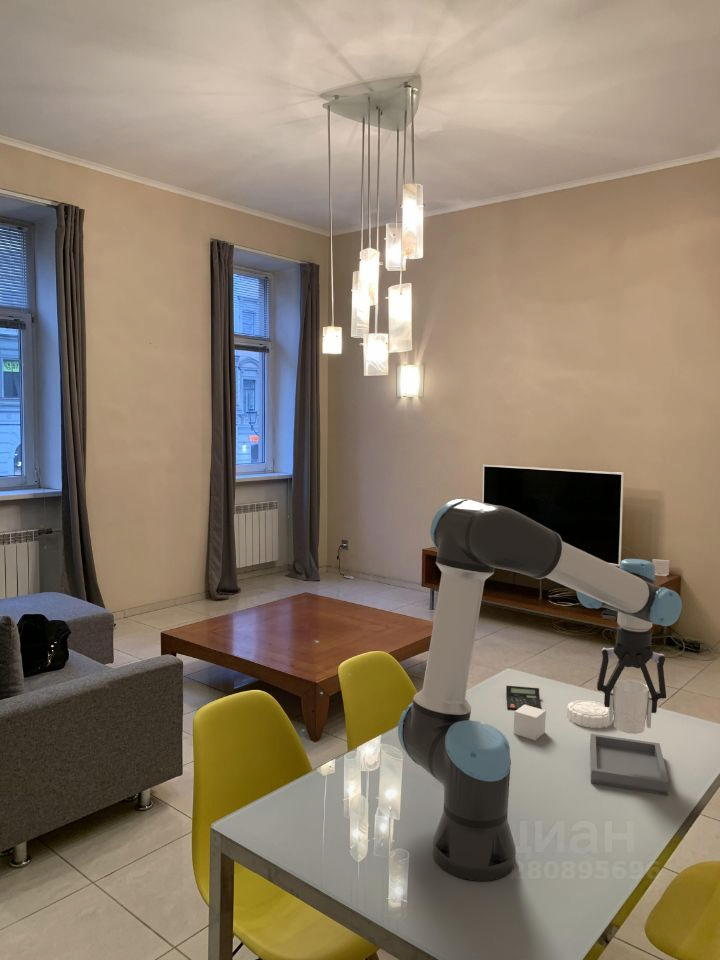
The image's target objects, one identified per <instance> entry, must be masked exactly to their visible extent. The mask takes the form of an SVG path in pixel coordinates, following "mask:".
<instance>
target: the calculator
mask: <svg viewBox="0 0 720 960" xmlns="http://www.w3.org/2000/svg"><path fill="white" fill-rule="evenodd" d="M505 690H506V692H505V694H506V698H505V699H506V708H507V709H506V710H510V711H511V710H512V711H516V710H517V709H519V708H520V707H522V706H523V705H528V706H531V707H535V708H539V709H542V705H541V699H540V688H539V687H528V686H519V685H518V686H517V685H506V687H505Z"/></svg>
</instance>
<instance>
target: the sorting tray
mask: <svg viewBox="0 0 720 960" xmlns="http://www.w3.org/2000/svg"><path fill="white" fill-rule="evenodd" d="M589 736H590V739H589V758H590V761H589V763H590V764H589V765H590V767H589V769H590V784H594V785H595V784H597V785H602V786H607V787H613V788H614V787H615V788H620V789H626V790H632V791H638V792H643V793H651V794H656V793H657V795H662V794H664V795H663V796H668V795H669V785H670V784H669V777H668V773H667V768H666V764H665V760H664V757H663V752H662V748H661V744H660V743H658V742H652V741H646V740H637V739H632V738H625V737H619V736H612V735H611V736H610V735H603V734H598V733H597V734H596V733H590V735H589Z"/></svg>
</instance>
